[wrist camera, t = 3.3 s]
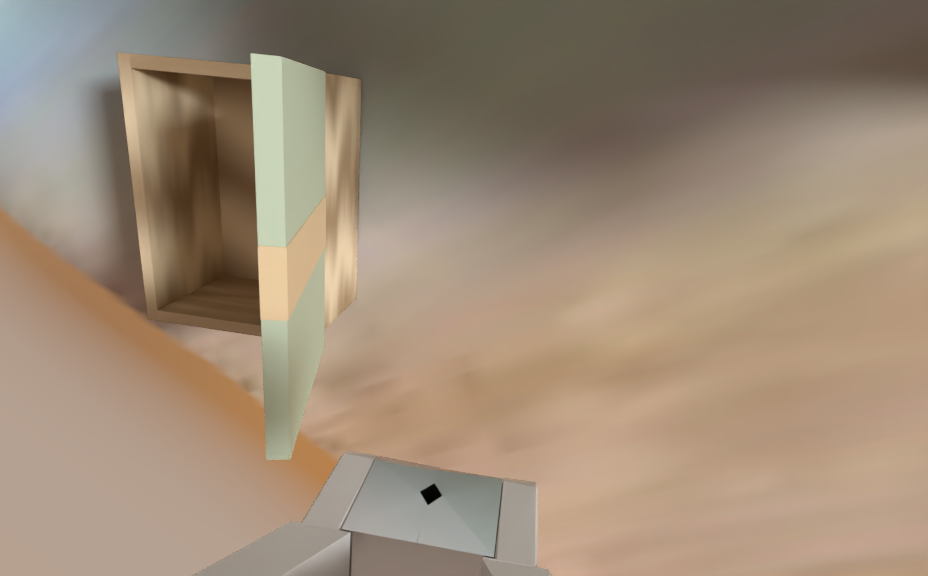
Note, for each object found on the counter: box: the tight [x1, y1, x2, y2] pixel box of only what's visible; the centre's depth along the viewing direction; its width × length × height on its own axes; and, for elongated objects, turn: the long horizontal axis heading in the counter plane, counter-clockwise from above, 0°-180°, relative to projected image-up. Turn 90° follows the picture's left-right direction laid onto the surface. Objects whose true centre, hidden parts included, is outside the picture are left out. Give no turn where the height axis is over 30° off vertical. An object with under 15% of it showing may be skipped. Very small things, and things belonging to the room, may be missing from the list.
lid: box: [250, 53, 326, 459], centre depth 20 cm, size 13×9×1 cm
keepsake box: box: [117, 52, 362, 336], centre depth 29 cm, size 13×9×7 cm
